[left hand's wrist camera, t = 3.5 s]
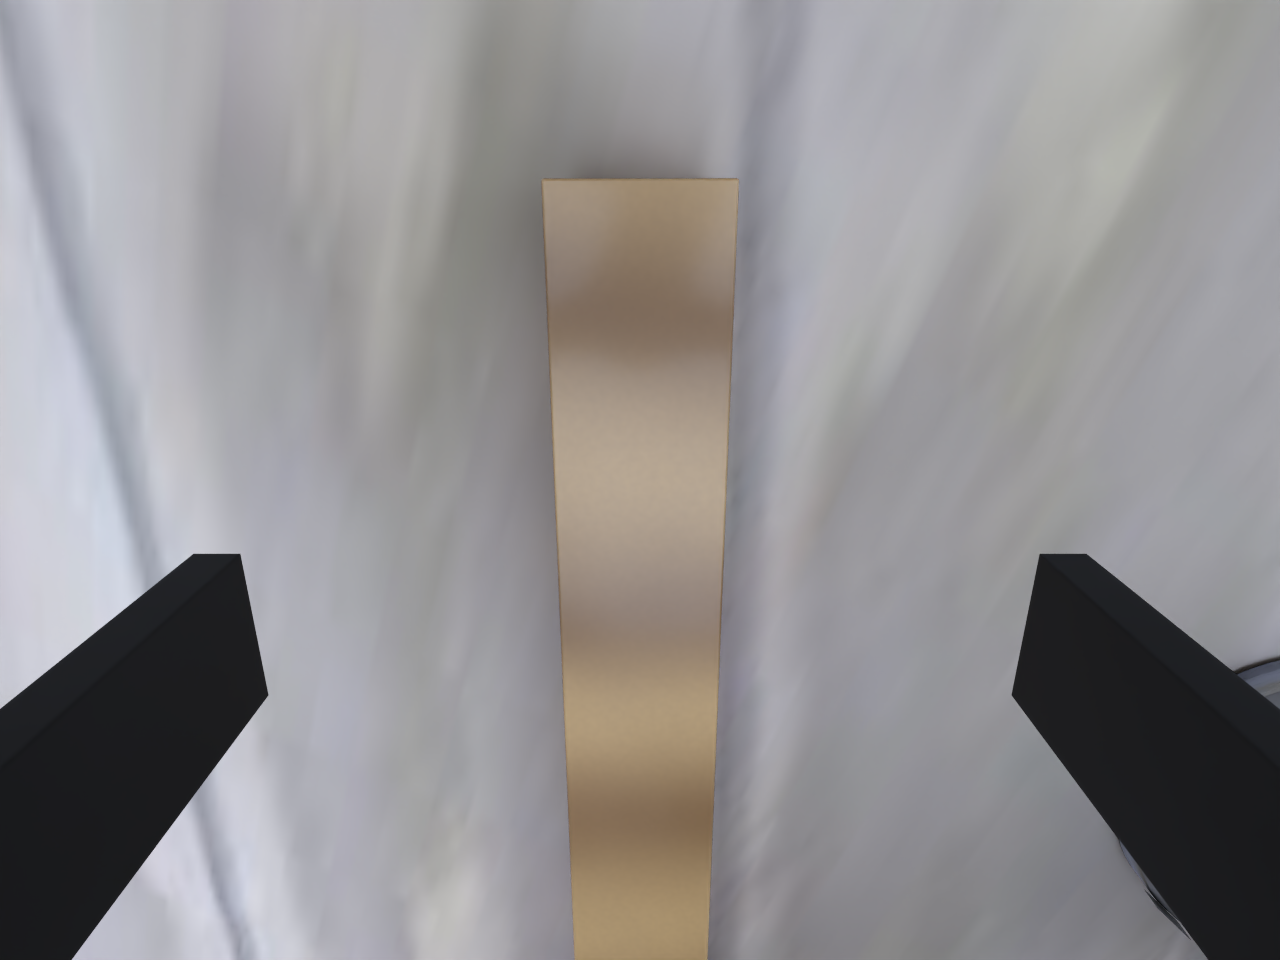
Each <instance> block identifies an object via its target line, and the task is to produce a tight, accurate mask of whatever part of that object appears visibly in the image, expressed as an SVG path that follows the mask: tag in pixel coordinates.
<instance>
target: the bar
mask: <svg viewBox="0 0 1280 960" xmlns="http://www.w3.org/2000/svg"><path fill="white" fill-rule="evenodd" d="M541 185H542V209H543V232H544V256H545V279H546V303H547V326H548V350H549V373H550V396H551V420H552V443H553V467H554V490H555V514H556V537H557V561H558V584H559V608H560V631H561V655H562V678H563V702H564V725H565V749H566V772H567V796H568V819H569V843H570V866H571V890H572V913H573V937H574V960H708V935H709V910H710V886H711V861H712V836H713V811H714V787H715V762H716V737H717V713H718V688H719V663H720V639H721V614H722V589H723V564H724V540H725V515H726V490H727V466H728V441H729V416H730V392H731V367H732V342H733V317H734V293H735V268H736V243H737V219H738V194H739V179H737V178H544V179H542V181H541Z"/></svg>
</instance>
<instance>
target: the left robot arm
mask: <svg viewBox="0 0 1280 960" xmlns="http://www.w3.org/2000/svg"><path fill="white" fill-rule="evenodd" d="M267 696H268V691H267V686H266V681H265V676H264V671H263V666H262V661H261V656H260V651H259V646H258V641H257V636H256V631H255V626H254V621H253V616H252V610H251V605H250V600H249V595H248V590H247V585H246V580H245V575H244V570H243V565H242V560H241V555H240V554H193V555H192V556H190V557H189V558H188V559H187V560H185V561H184V562H183V563H182V564H180V565H179V566H178V567H177V568H175V569H174V570H173V571H172V572H170V573H169V574H168V575H167V576H165V577H164V578H163V579H162V580H160V581H159V582H158V583H157V584H155V585H154V586H153V587H152V588H150V589H149V590H148V591H147V592H146V593H144V594H143V595H142V596H141V597H139V598H138V599H137V600H136V601H134V602H133V603H132V604H131V605H129V606H128V607H127V608H126V609H124V610H123V611H122V612H121V613H119V614H118V615H117V616H116V617H114V618H113V619H112V620H111V621H109V622H108V623H107V624H106V625H104V626H103V627H102V628H101V629H99V630H98V631H97V632H96V633H94V634H93V635H92V636H91V637H89V638H88V639H87V640H86V641H84V642H83V643H82V644H81V645H79V646H78V647H77V648H76V649H74V650H73V651H72V652H71V653H69V654H68V655H67V656H66V657H64V658H63V659H62V660H61V661H59V662H58V663H57V664H56V665H55V666H53V667H52V668H51V669H50V670H48V671H47V672H46V673H45V674H43V675H42V676H41V677H40V678H38V679H37V680H36V681H35V682H33V683H32V684H31V685H30V686H28V687H27V688H26V689H25V690H23V691H22V692H21V693H20V694H18V695H17V696H16V697H15V698H13V699H12V700H11V701H10V702H8V703H7V704H6V705H5V706H3V707H2V708H1V709H0V960H72V958H73V957H74V956H75V954H76V953H77V952H78V950H79V949H80V948H81V946H82V945H83V944H84V942H85V941H86V940H87V938H88V937H89V936H90V934H91V933H92V931H93V930H94V929H95V927H96V926H97V925H98V923H99V922H100V921H101V919H102V918H103V917H104V915H105V914H106V913H107V911H108V910H109V909H110V907H111V906H112V905H113V903H114V902H115V901H116V899H117V898H118V897H119V895H120V894H121V893H122V891H123V890H124V888H125V887H126V886H127V884H128V883H129V882H130V880H131V879H132V878H133V876H134V875H135V874H136V872H137V871H138V870H139V868H140V867H141V866H142V864H143V863H144V862H145V860H146V859H147V858H148V856H149V855H150V854H151V852H152V851H153V850H154V848H155V847H156V845H157V844H158V843H159V841H160V840H161V839H162V837H163V836H164V835H165V833H166V832H167V831H168V829H169V828H170V827H171V825H172V824H173V823H174V821H175V820H176V819H177V817H178V816H179V815H180V813H181V812H182V811H183V809H184V808H185V807H186V805H187V804H188V802H189V801H190V800H191V798H192V797H193V796H194V794H195V793H196V792H197V790H198V789H199V788H200V786H201V785H202V784H203V782H204V781H205V780H206V778H207V777H208V776H209V774H210V773H211V772H212V770H213V769H214V768H215V766H216V765H217V764H218V762H219V761H220V760H221V758H222V757H223V755H224V754H225V753H226V751H227V750H228V749H229V747H230V746H231V745H232V743H233V742H234V741H235V739H236V738H237V737H238V735H239V734H240V733H241V731H242V730H243V729H244V727H245V726H246V725H247V723H248V722H249V721H250V719H251V718H252V717H253V715H254V714H255V712H256V711H257V710H258V708H259V707H260V706H261V704H262V703H263V702H264V700H265V699H266V698H267ZM1012 696H1013V698H1014V699H1015V700H1016V702H1017V703H1018V704H1019V706H1020V707H1021V708H1022V710H1023V711H1024V712H1025V714H1026V715H1027V717H1028V718H1029V719H1030V721H1031V722H1032V723H1033V725H1034V726H1035V727H1036V729H1037V730H1038V731H1039V733H1040V734H1041V735H1042V737H1043V738H1044V739H1045V741H1046V742H1047V743H1048V745H1049V746H1050V747H1051V749H1052V750H1053V751H1054V753H1055V754H1056V755H1057V757H1058V758H1059V760H1060V761H1061V762H1062V764H1063V765H1064V766H1065V768H1066V769H1067V770H1068V772H1069V773H1070V774H1071V776H1072V777H1073V778H1074V780H1075V781H1076V782H1077V784H1078V785H1079V786H1080V788H1081V789H1082V790H1083V792H1084V793H1085V794H1086V796H1087V797H1088V798H1089V800H1090V801H1091V802H1092V804H1093V805H1094V807H1095V808H1096V809H1097V811H1098V812H1099V813H1100V815H1101V816H1102V817H1103V819H1104V820H1105V821H1106V823H1107V824H1108V825H1109V827H1110V828H1111V829H1112V831H1113V832H1114V833H1115V835H1116V836H1117V837H1118V839H1119V840H1120V841H1121V843H1122V844H1123V845H1124V847H1125V848H1126V850H1127V851H1128V852H1129V854H1130V855H1131V856H1132V858H1133V859H1134V860H1135V862H1136V863H1137V864H1138V866H1139V867H1140V868H1141V870H1142V871H1143V872H1144V874H1145V875H1146V876H1147V878H1148V879H1149V880H1150V882H1151V883H1152V884H1153V886H1154V887H1155V888H1156V890H1157V891H1158V893H1159V894H1160V895H1161V897H1162V898H1163V899H1164V901H1165V902H1166V903H1167V905H1168V906H1169V907H1170V909H1171V910H1172V911H1173V913H1174V914H1175V915H1176V917H1177V918H1178V919H1179V921H1180V922H1181V923H1182V925H1183V926H1184V927H1185V929H1186V930H1187V931H1188V933H1189V934H1190V936H1191V937H1192V938H1193V940H1194V941H1195V942H1196V944H1197V945H1198V946H1199V948H1200V949H1201V950H1202V952H1203V953H1204V954H1205V956H1206V957H1207V958H1208V960H1280V709H1279V708H1278V707H1277V706H1275V705H1274V704H1273V703H1272V702H1270V701H1269V700H1268V699H1267V698H1265V697H1264V696H1263V695H1262V694H1260V693H1259V692H1258V691H1257V690H1255V689H1254V688H1253V687H1252V686H1250V685H1249V684H1248V683H1247V682H1245V681H1244V680H1243V679H1242V678H1240V677H1239V676H1238V675H1237V674H1235V673H1234V672H1233V671H1232V670H1230V669H1229V668H1228V667H1227V666H1225V665H1224V664H1223V663H1222V662H1221V661H1219V660H1218V659H1217V658H1216V657H1214V656H1213V655H1212V654H1211V653H1209V652H1208V651H1207V650H1206V649H1204V648H1203V647H1202V646H1201V645H1199V644H1198V643H1197V642H1196V641H1194V640H1193V639H1192V638H1191V637H1189V636H1188V635H1187V634H1186V633H1184V632H1183V631H1182V630H1181V629H1179V628H1178V627H1177V626H1176V625H1174V624H1173V623H1172V622H1171V621H1169V620H1168V619H1167V618H1166V617H1164V616H1163V615H1162V614H1161V613H1159V612H1158V611H1157V610H1156V609H1154V608H1153V607H1152V606H1151V605H1149V604H1148V603H1147V602H1146V601H1144V600H1143V599H1142V598H1141V597H1139V596H1138V595H1137V594H1136V593H1134V592H1133V591H1132V590H1131V589H1130V588H1128V587H1127V586H1126V585H1125V584H1123V583H1122V582H1121V581H1120V580H1118V579H1117V578H1116V577H1115V576H1113V575H1112V574H1111V573H1110V572H1108V571H1107V570H1106V569H1105V568H1103V567H1102V566H1101V565H1100V564H1098V563H1097V562H1096V561H1095V560H1093V559H1092V558H1091V557H1090V556H1088V555H1087V554H1040V555H1039V560H1038V565H1037V570H1036V575H1035V580H1034V585H1033V590H1032V595H1031V600H1030V605H1029V610H1028V616H1027V621H1026V626H1025V631H1024V636H1023V641H1022V646H1021V651H1020V656H1019V661H1018V666H1017V671H1016V676H1015V681H1014V686H1013V691H1012Z"/></svg>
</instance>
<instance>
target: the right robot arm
mask: <svg viewBox="0 0 1280 960" xmlns="http://www.w3.org/2000/svg"><path fill="white" fill-rule="evenodd" d="M1237 675H1238V676H1239V677H1240V678H1242V679H1243V680H1244V681H1245V682H1247V683H1248V684H1249V685H1250V686H1252V687H1253V688H1254V689H1255V690H1257V691H1258V692H1259V693H1260V694H1262V695H1263V696H1264V697H1265V698H1267V699H1268V700H1269V701H1270V702H1272V703H1273V704H1274V705H1275V706H1277V707H1278V708H1279V709H1280V660H1279V661H1275V662H1271V663H1268V664H1264V665H1261V666H1258V667H1255V668H1252V669H1249V670H1247V671H1244V672H1242V673H1239V674H1237ZM1119 841H1120V840H1119ZM1120 845H1121V848H1122V850H1123V852H1124V855H1125V857H1126V859H1127V860H1128V862H1129V864H1130V865H1131V867H1132V868H1133V869H1134V871H1135V872H1136V874H1137V875H1138V876H1139V878H1140V879H1141V880H1142V882H1143V883H1144V884H1145V886H1146V887H1147V889H1148V890H1149V891H1150V893H1151V894H1152V895H1153V896H1154V898H1155V899H1156V900H1157V901H1158V902H1159V903H1160V904H1161V905H1162V906H1163V907H1164V908H1165V909H1166V910H1167V911H1168V912H1170V913H1171V914H1172V915H1173V916H1174V917H1175V918H1176V919H1177V920H1179V919H1178V918H1177V917H1176V915H1175V914H1174V913H1173V911H1172V910H1171V909H1170V907H1169V906H1168V905H1167V903H1166V902H1165V901H1164V899H1163V898H1162V897H1161V895H1160V894H1159V893H1158V891H1157V890H1156V888H1155V887H1154V886H1153V884H1152V883H1151V882H1150V880H1149V879H1148V878H1147V876H1146V875H1145V874H1144V872H1143V871H1142V870H1141V868H1140V867H1139V866H1138V864H1137V863H1136V862H1135V860H1134V859H1133V858H1132V856H1131V855H1130V854H1129V852H1128V851H1127V850H1126V848H1125V847H1124V845H1123V844H1122V843H1121V841H1120ZM1144 890H1145V889H1144ZM1145 891H1146V890H1145ZM1146 893H1147V894H1148V895H1149V897H1150V898H1151V899H1152V901H1153V902H1154V904H1155V905H1156V906H1157V908H1158V909H1159V910H1160V911H1161V912H1162V913H1163V914H1164V915H1165V916H1166V917H1168V918H1169V919H1170V920H1171V921H1172V922H1173V923H1174V924H1175V925H1176V926H1177V927H1178V928H1179V929H1180V930H1181V931H1182V932H1183V933H1184V934H1185V935H1186V936H1187V937H1188V938H1189V936H1188V935H1187V934H1186V932H1185V931H1184V930H1183V928H1182V927H1181V926H1180V924H1179V923H1178V922H1177V920H1176V919H1175V918H1173V917H1172V916H1171V915H1170V914H1169V913H1168V912H1167V911H1166V910H1165V909H1164V908H1163V907H1162V906H1161V905H1160V904H1159V903H1158V902H1157V901H1156V900H1155V899H1154V898H1153V897H1152V896H1151V895H1150V894H1149V893H1148V892H1147V891H1146ZM1189 939H1190V938H1189ZM1190 940H1191V939H1190Z"/></svg>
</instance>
